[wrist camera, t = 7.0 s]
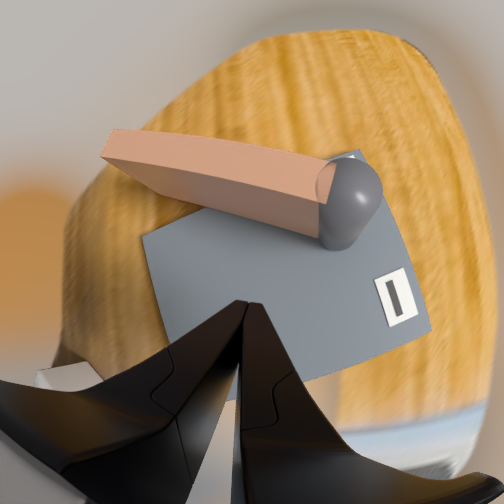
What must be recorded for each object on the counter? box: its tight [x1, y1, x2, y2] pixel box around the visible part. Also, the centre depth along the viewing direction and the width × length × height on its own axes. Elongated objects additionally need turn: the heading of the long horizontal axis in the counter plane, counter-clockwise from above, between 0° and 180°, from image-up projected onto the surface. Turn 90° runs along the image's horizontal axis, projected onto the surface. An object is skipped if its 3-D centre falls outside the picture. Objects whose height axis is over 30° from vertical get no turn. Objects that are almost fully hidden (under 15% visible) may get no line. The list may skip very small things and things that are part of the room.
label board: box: [142, 149, 432, 401], centre depth 20 cm, size 15×20×1 cm
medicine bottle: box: [33, 361, 104, 392], centre depth 17 cm, size 7×7×12 cm
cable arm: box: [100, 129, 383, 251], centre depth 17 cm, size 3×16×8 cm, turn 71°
